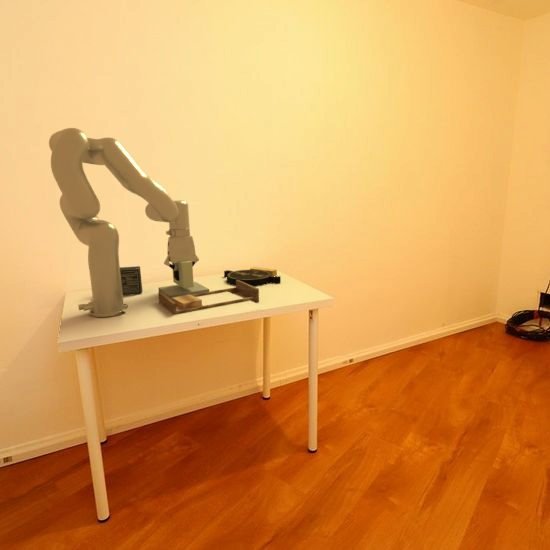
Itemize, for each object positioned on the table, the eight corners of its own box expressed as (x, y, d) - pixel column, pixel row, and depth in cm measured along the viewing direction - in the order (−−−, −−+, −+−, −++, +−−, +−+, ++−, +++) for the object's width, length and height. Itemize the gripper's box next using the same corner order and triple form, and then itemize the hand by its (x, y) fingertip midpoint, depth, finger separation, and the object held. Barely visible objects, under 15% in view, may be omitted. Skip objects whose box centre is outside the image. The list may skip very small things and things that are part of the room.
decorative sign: (292, 270, 180) (266, 283, 159) (292, 277, 181) (267, 290, 160) (240, 265, 194) (210, 275, 172) (240, 271, 194) (210, 282, 173)
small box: (142, 290, 161) (140, 265, 158) (141, 294, 154) (139, 268, 152) (115, 291, 158) (113, 267, 156) (113, 296, 152) (110, 270, 150)
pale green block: (183, 288, 147) (182, 262, 144) (173, 282, 157) (171, 258, 154) (193, 286, 149) (192, 261, 146) (182, 280, 159) (181, 256, 156)
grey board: (169, 302, 144) (169, 295, 143) (158, 293, 155) (158, 287, 154) (209, 295, 152) (209, 289, 151) (196, 287, 163) (195, 281, 163)
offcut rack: (174, 318, 126) (173, 303, 125) (159, 305, 140) (158, 292, 139) (258, 301, 143) (258, 288, 142) (238, 291, 157) (238, 279, 156)
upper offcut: (183, 309, 131) (183, 303, 130) (172, 303, 138) (171, 297, 137) (201, 305, 135) (201, 299, 135) (189, 299, 142) (189, 294, 142)
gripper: (161, 236, 140) (165, 284, 145) (204, 232, 149) (206, 278, 153) (155, 233, 146) (159, 280, 151) (196, 230, 155) (199, 274, 160)
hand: (183, 278), depth 152 cm, fingers closed on pale green block, 4 cm apart
